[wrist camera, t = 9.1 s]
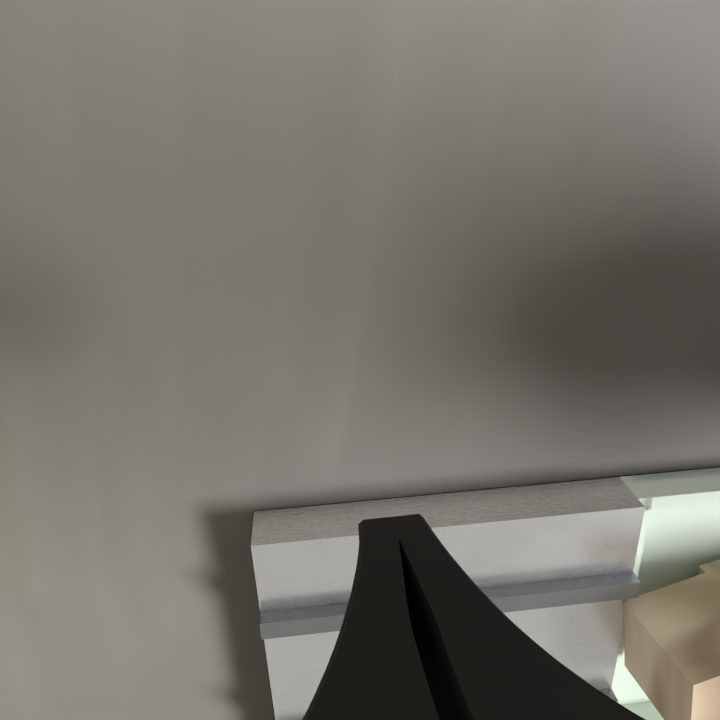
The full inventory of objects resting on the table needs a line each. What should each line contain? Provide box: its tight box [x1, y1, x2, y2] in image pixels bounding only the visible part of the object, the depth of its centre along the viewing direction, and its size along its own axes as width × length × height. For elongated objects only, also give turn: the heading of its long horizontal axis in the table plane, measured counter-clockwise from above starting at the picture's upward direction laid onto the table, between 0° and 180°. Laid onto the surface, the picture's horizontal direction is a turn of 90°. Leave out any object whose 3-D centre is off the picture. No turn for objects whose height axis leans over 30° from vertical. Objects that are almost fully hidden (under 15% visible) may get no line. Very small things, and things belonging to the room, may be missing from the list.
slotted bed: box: [251, 477, 645, 720], centre depth 26 cm, size 15×14×3 cm
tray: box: [611, 467, 720, 720], centre depth 27 cm, size 9×14×2 cm, turn 2°
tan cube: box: [624, 572, 720, 720], centre depth 24 cm, size 4×4×4 cm
